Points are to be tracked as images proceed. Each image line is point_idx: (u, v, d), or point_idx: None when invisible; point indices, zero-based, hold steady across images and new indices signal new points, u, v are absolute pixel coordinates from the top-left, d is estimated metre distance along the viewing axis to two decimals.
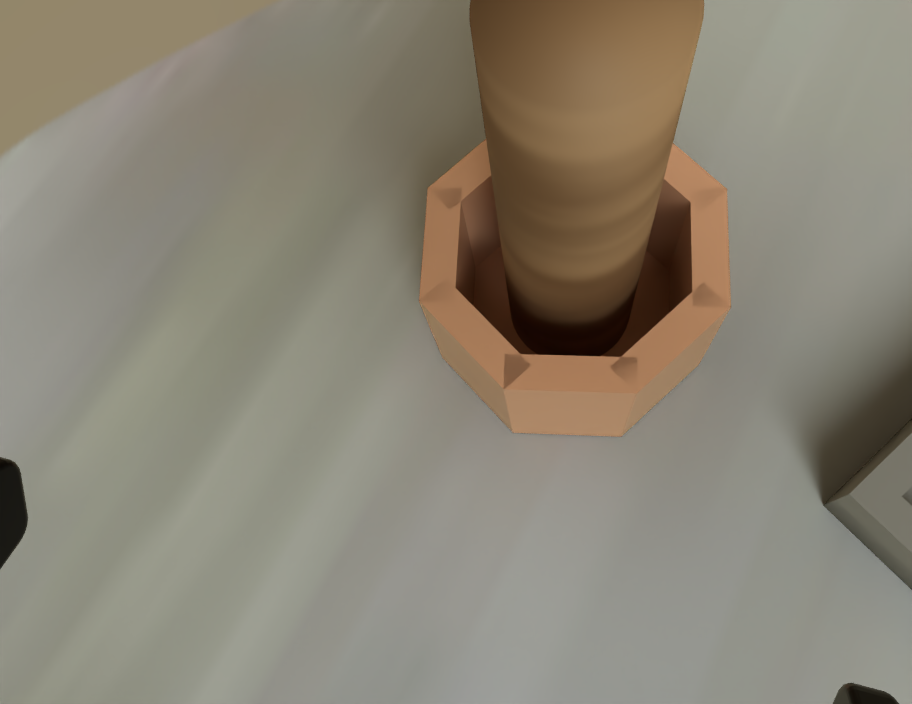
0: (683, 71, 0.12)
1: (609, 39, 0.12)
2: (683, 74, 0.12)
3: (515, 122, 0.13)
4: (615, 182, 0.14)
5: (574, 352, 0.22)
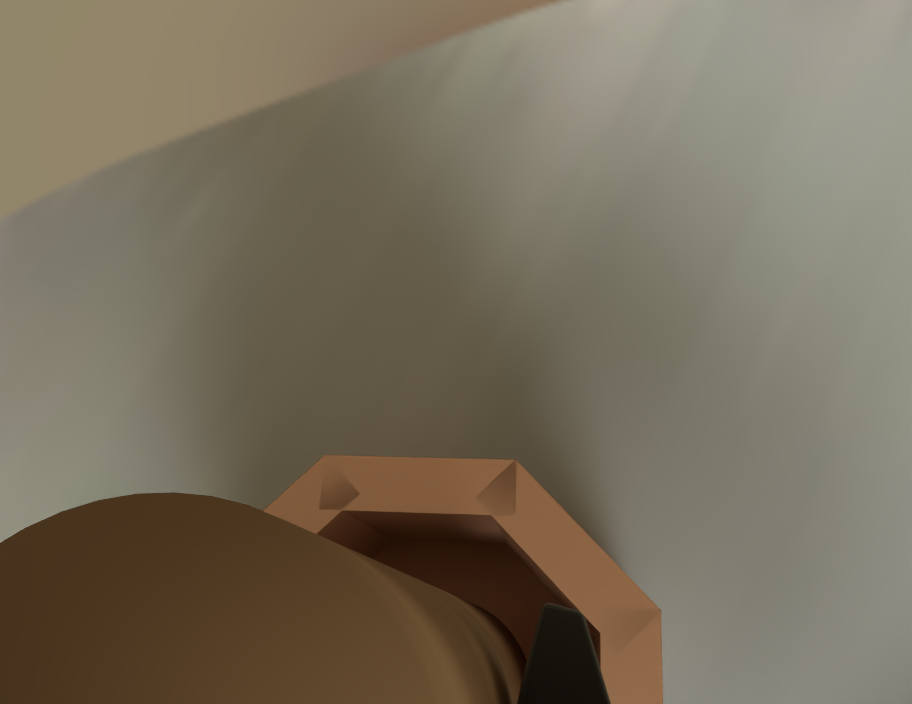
0: None
1: None
2: None
3: None
4: None
5: None
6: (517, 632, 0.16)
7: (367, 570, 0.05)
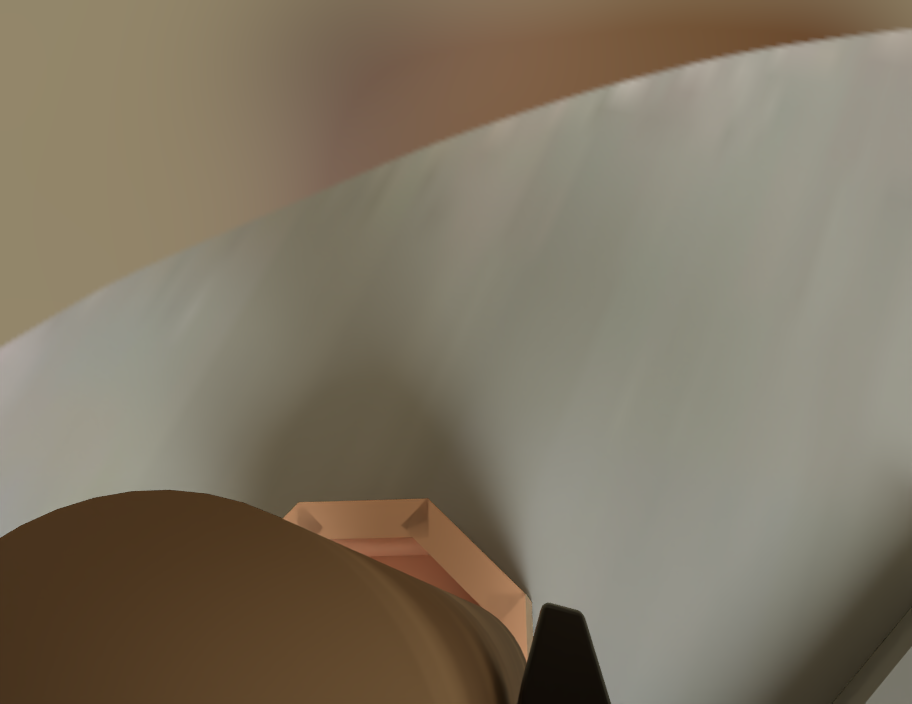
0: None
1: None
2: None
3: None
4: None
5: None
6: None
7: (362, 567, 0.05)
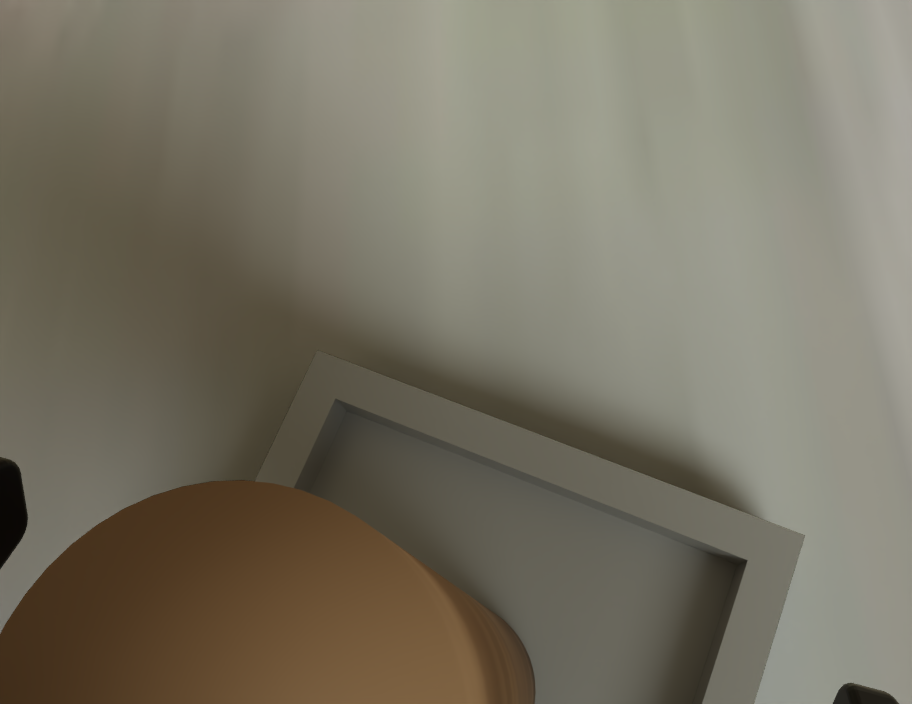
0: None
1: None
2: None
3: None
4: None
5: None
6: None
7: (394, 544, 0.06)
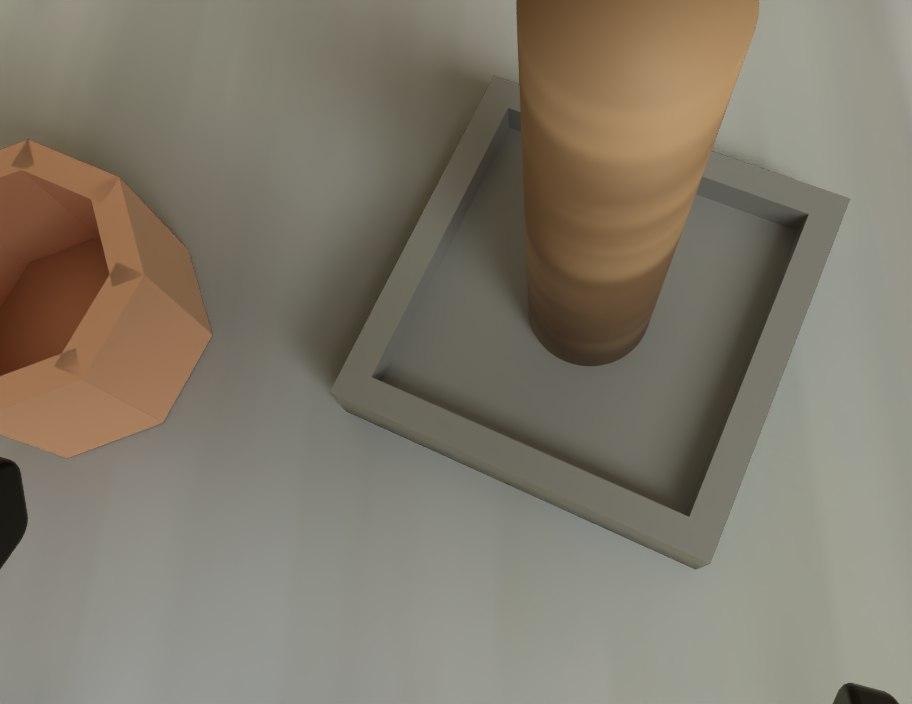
0: (735, 71, 0.12)
1: (661, 36, 0.12)
2: (734, 74, 0.12)
3: (558, 118, 0.12)
4: (654, 183, 0.13)
5: (593, 355, 0.22)
6: None
7: None
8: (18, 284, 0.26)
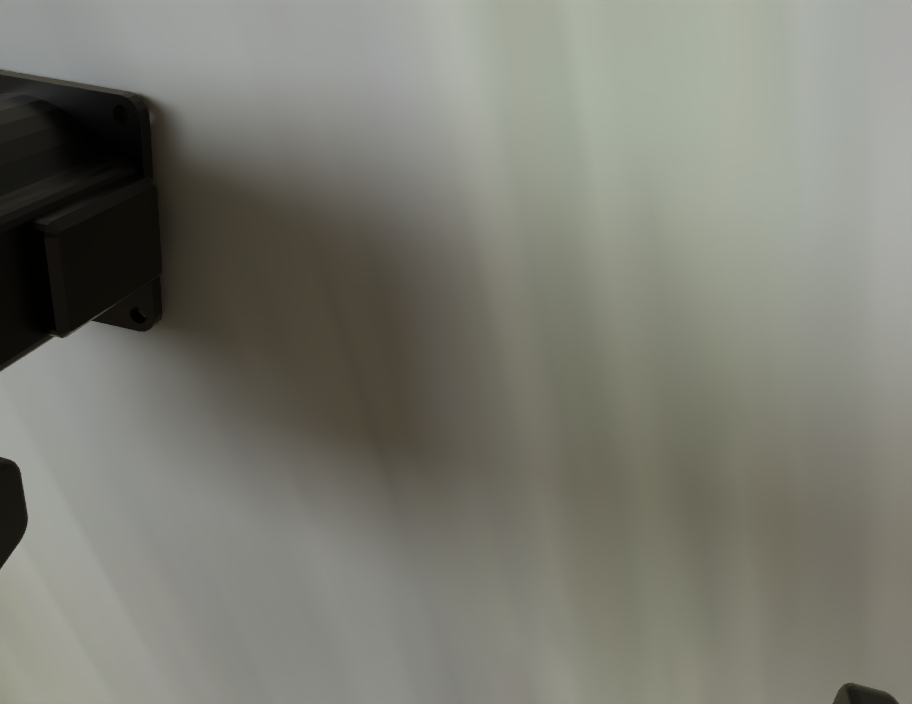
0: None
1: None
2: None
3: None
4: None
5: None
6: None
7: None
8: None
